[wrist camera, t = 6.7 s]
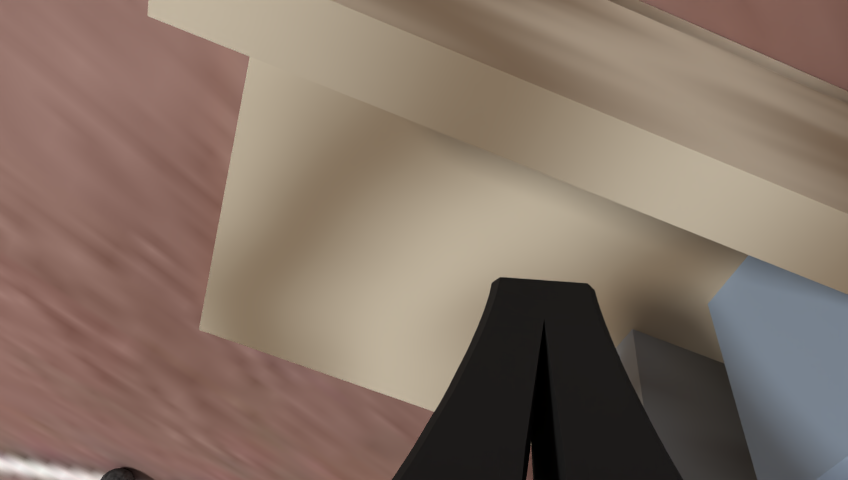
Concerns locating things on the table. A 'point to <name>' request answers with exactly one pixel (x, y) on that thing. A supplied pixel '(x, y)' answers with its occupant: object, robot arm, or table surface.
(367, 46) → the wooden open box
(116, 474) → the microphone
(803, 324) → the grey-blue block
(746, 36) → the table surface
